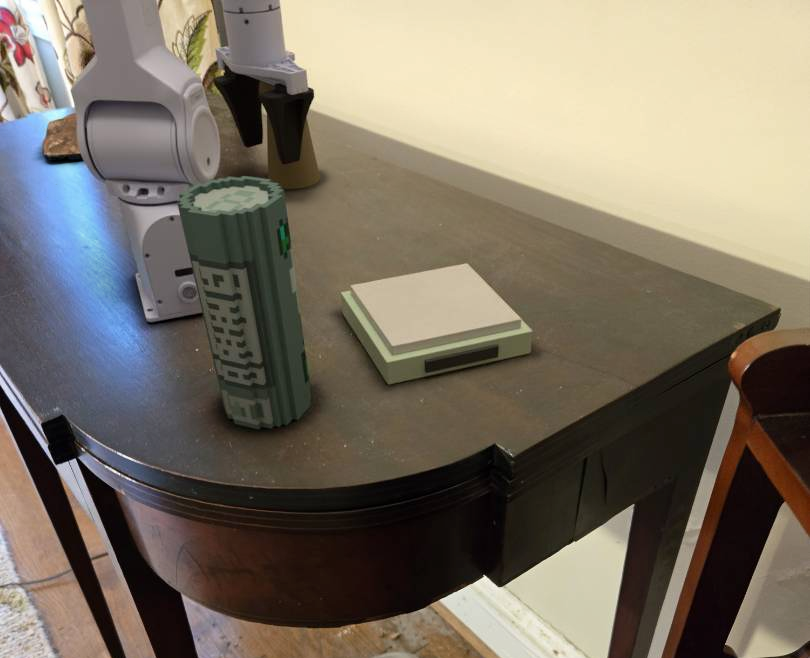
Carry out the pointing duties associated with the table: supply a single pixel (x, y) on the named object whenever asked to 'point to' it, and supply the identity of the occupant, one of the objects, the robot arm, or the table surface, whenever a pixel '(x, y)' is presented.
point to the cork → (296, 172)
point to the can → (248, 297)
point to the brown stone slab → (62, 139)
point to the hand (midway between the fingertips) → (271, 153)
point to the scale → (433, 323)
